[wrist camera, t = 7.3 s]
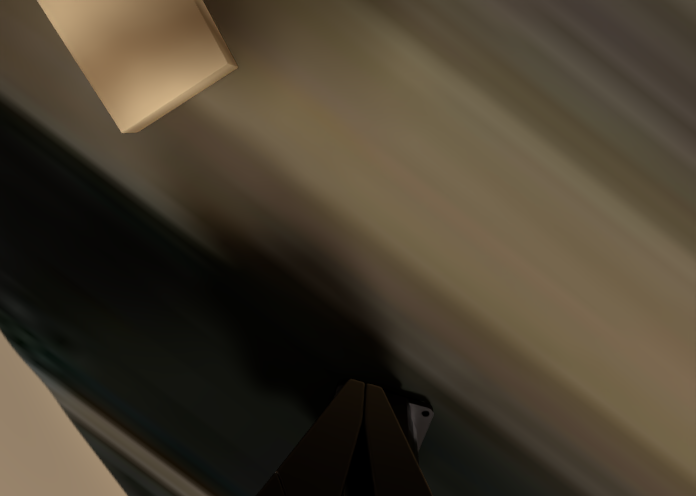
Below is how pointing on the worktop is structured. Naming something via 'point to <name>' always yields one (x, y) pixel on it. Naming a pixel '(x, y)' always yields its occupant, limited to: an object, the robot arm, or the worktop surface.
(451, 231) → the worktop surface
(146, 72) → the track
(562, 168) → the worktop surface
